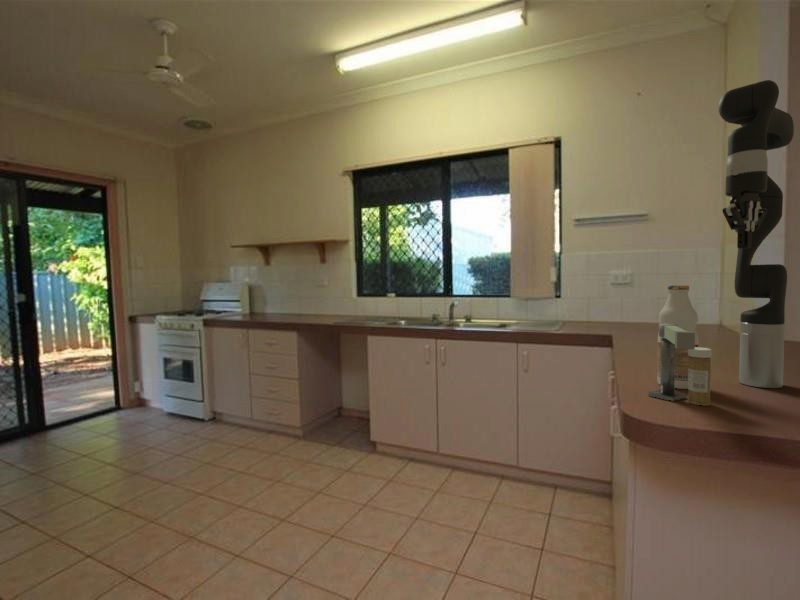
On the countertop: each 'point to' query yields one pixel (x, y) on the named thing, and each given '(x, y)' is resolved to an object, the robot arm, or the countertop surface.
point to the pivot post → (667, 373)
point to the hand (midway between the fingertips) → (744, 248)
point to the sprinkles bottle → (699, 376)
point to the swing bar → (677, 336)
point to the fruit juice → (686, 319)
